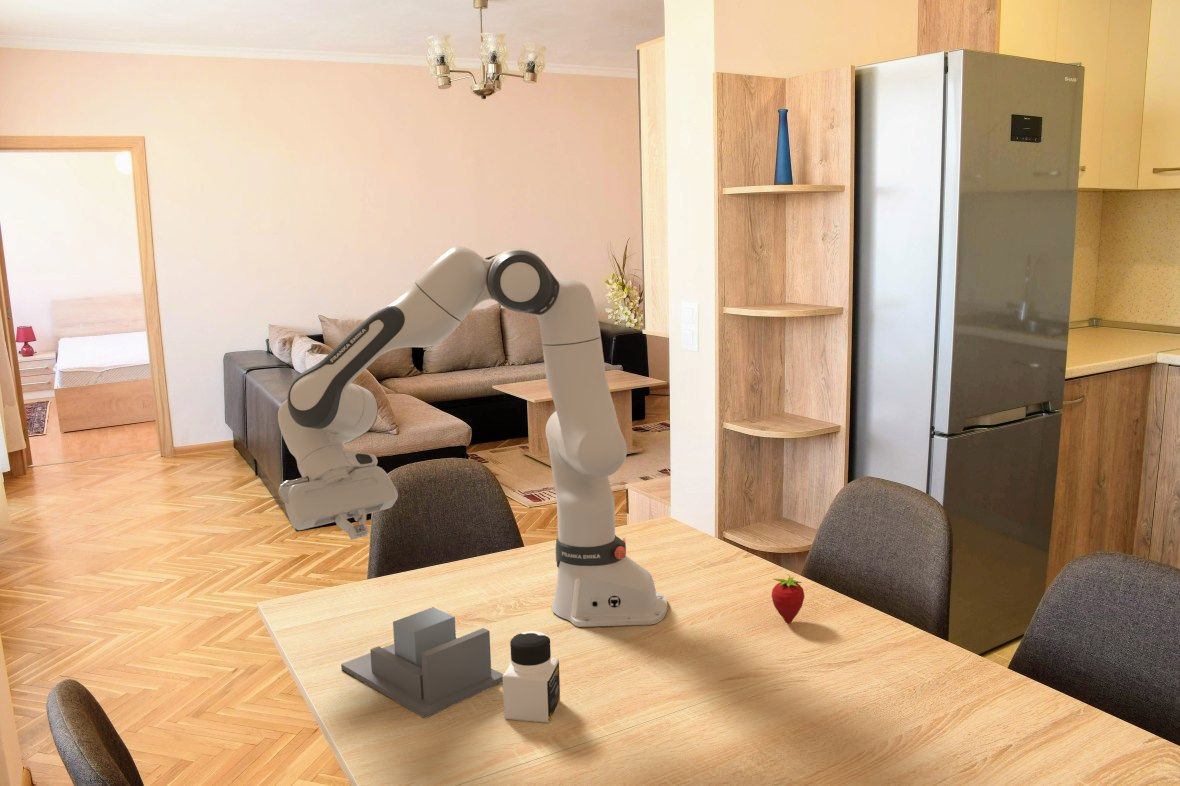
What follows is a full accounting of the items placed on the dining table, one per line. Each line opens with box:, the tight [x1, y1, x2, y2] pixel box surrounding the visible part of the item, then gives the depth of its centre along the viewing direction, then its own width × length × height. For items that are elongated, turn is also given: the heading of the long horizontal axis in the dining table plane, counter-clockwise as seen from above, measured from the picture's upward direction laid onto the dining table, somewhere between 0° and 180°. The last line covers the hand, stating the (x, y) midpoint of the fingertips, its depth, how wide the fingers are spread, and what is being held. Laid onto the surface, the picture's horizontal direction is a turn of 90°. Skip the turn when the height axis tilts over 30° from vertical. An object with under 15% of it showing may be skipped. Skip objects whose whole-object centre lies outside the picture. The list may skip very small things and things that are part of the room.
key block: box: [392, 606, 457, 669], centre depth 151 cm, size 6×8×9 cm
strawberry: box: [771, 575, 805, 624], centre depth 170 cm, size 6×8×10 cm
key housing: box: [340, 627, 504, 719], centre depth 152 cm, size 24×16×9 cm, turn 46°
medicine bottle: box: [502, 630, 561, 724], centre depth 140 cm, size 7×7×12 cm
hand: (360, 536), depth 161 cm, fingers closed
